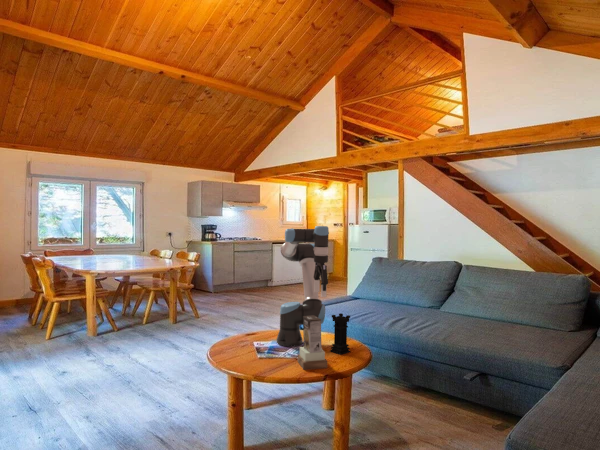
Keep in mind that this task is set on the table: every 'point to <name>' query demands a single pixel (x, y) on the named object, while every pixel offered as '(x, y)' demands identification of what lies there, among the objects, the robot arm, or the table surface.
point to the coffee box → (312, 333)
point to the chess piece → (340, 335)
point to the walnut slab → (312, 364)
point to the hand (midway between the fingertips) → (320, 294)
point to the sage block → (311, 355)
